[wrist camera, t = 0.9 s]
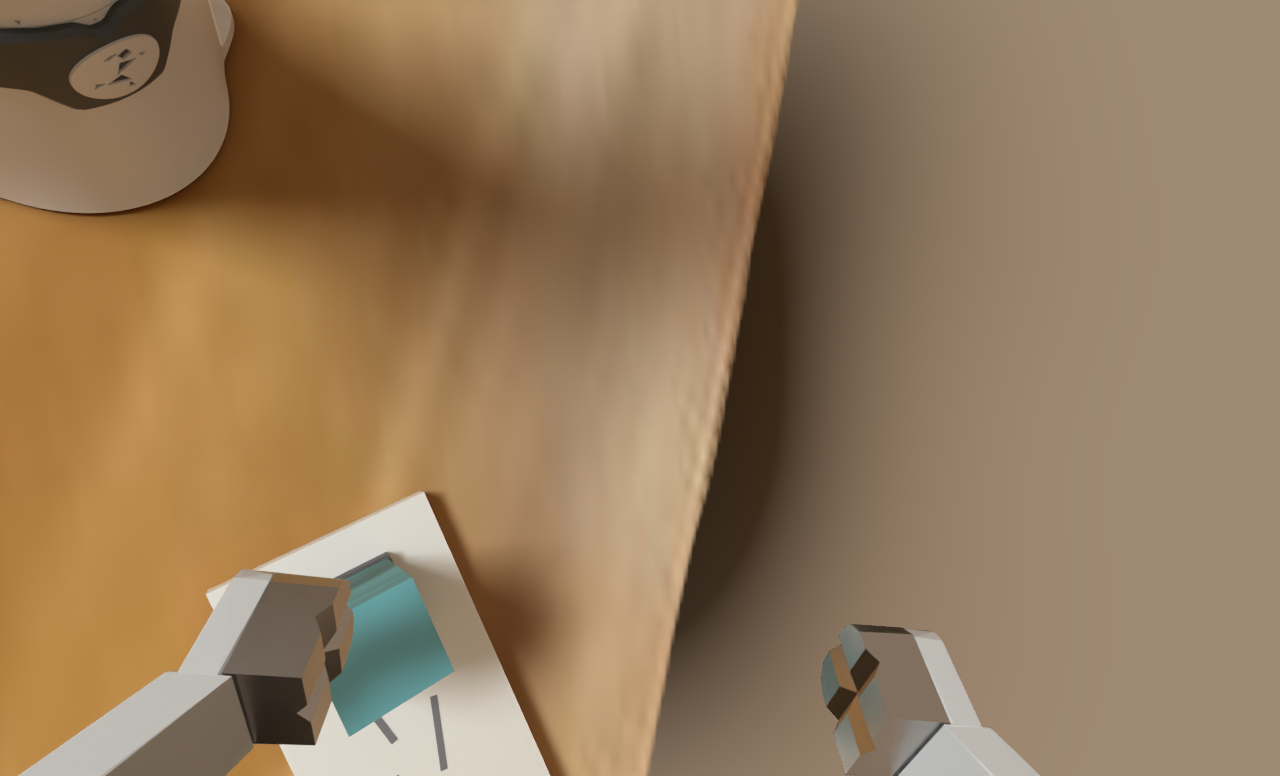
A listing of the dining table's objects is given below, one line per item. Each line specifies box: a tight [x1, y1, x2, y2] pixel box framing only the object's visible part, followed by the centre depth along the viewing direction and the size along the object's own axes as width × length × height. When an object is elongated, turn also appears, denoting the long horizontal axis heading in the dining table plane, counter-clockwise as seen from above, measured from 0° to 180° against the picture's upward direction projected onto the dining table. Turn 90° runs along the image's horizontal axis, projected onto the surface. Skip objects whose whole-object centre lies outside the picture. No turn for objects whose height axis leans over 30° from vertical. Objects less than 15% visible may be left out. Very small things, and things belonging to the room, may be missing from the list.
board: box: [206, 491, 550, 776], centre depth 39 cm, size 24×12×2 cm, turn 25°
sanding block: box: [329, 552, 454, 737], centre depth 33 cm, size 5×5×9 cm
